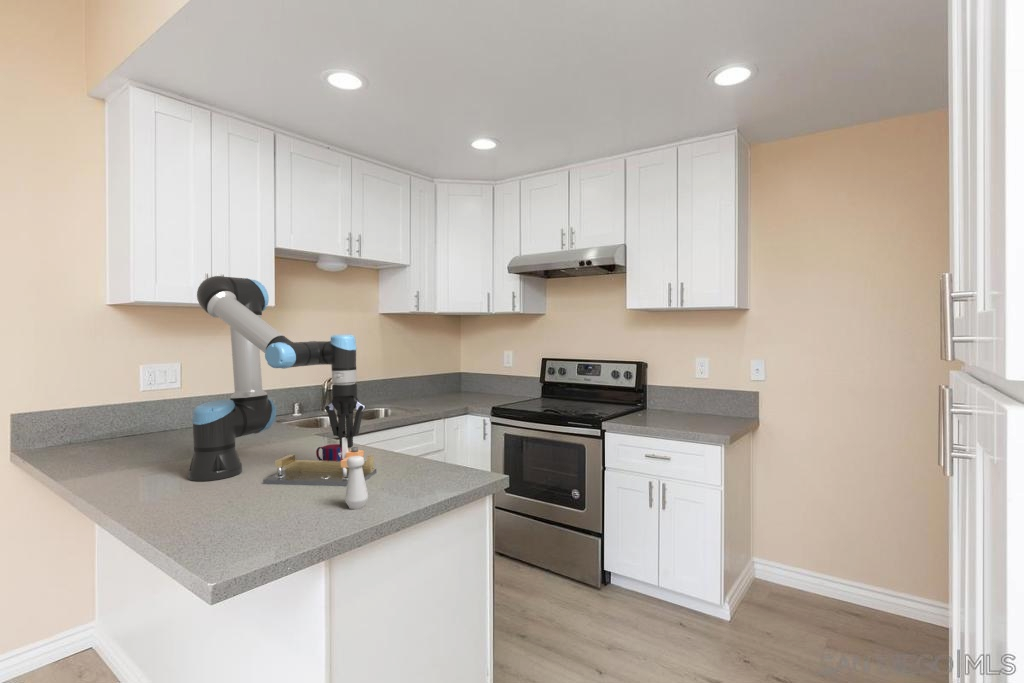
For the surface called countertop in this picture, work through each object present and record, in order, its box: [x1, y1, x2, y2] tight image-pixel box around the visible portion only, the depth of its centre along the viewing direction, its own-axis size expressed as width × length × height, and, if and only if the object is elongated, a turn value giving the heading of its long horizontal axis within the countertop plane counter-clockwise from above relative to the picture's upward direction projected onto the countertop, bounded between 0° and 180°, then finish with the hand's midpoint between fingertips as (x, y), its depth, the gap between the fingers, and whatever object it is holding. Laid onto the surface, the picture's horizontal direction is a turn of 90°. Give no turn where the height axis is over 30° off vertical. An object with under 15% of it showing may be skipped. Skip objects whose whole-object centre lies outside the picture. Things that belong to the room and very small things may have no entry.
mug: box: [315, 443, 343, 461], centre depth 174 cm, size 7×10×7 cm
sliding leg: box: [341, 446, 365, 477], centre depth 159 cm, size 4×10×7 cm, turn 172°
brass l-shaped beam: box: [275, 454, 375, 476], centre depth 160 cm, size 29×9×5 cm, turn 82°
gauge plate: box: [262, 468, 377, 487], centre depth 159 cm, size 30×14×1 cm, turn 82°
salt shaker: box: [344, 456, 369, 510], centre depth 133 cm, size 6×6×13 cm
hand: (346, 457), depth 162 cm, fingers closed
